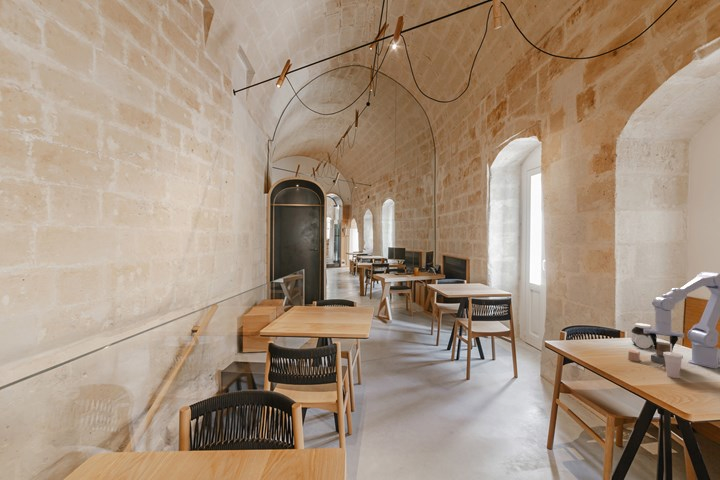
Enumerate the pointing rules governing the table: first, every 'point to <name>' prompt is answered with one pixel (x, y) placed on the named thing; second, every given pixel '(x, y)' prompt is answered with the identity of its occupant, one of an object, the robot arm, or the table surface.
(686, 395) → the table surface
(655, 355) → the plinth
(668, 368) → the smoothie
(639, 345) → the spread jar
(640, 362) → the swatch
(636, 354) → the terracotta cube
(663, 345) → the walnut cube
